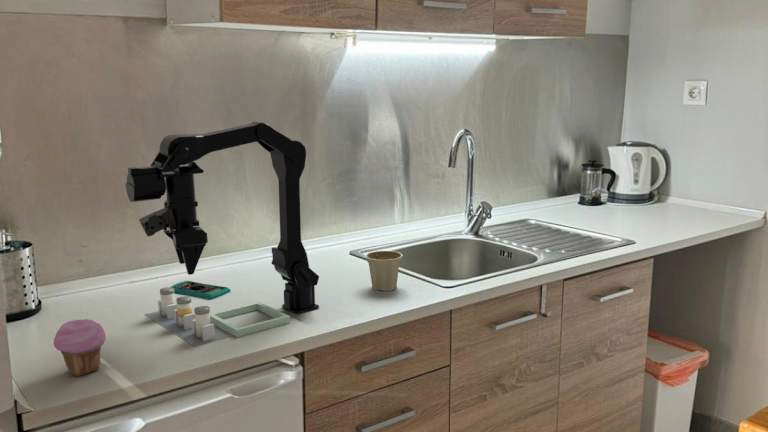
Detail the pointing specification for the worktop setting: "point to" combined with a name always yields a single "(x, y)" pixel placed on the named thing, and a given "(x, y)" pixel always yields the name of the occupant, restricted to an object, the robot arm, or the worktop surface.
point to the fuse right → (201, 319)
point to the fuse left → (166, 299)
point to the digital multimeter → (200, 290)
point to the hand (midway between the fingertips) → (186, 268)
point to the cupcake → (80, 345)
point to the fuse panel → (186, 326)
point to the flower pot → (384, 269)
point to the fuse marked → (183, 309)
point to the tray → (279, 320)
